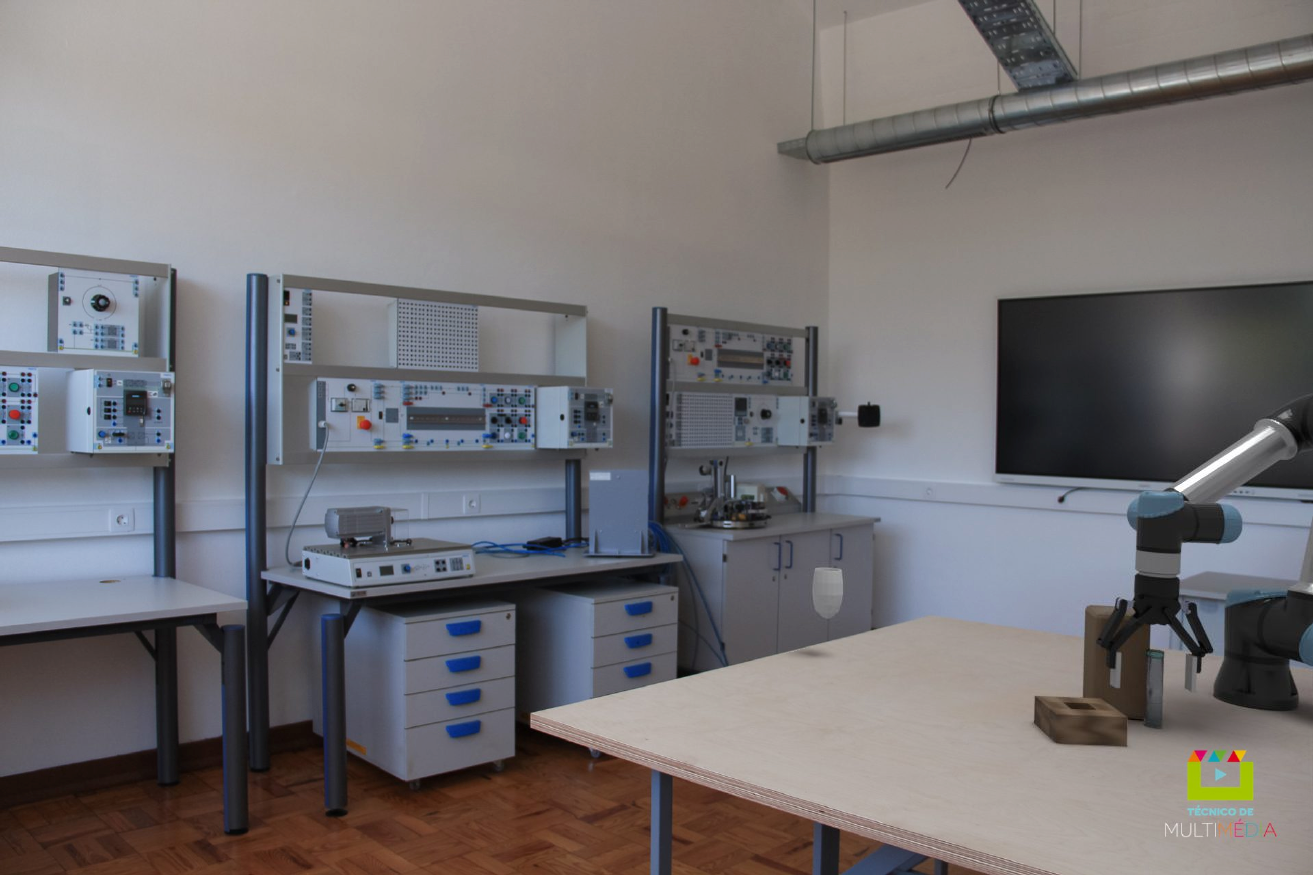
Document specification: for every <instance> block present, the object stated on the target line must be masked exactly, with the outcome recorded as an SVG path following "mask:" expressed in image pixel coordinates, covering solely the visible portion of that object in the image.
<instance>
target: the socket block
mask: <svg viewBox="0 0 1313 875" xmlns="http://www.w3.org/2000/svg"><path fill="white" fill-rule="evenodd" d="M1033 706H1034V707H1033V708H1034V713H1033V723H1034V724H1035V725H1036V726H1037V727H1038V728H1039V729H1040V730H1041V731H1043V732H1044V733H1045V735H1047V736H1048V737H1049V738H1050V739H1051V740H1052V741H1054V742H1055V743H1056V744H1072V745H1073V744H1074V745H1075V744H1076V745H1093V746H1094V745H1097V746H1100V745H1101V746H1119V747H1121V746H1122V747H1126V746H1127V747H1128V721H1129V718H1128V717H1127V716H1125V715H1124V714H1122V713H1121V712H1120V711H1118V710H1117V709H1115V708H1114V707H1112V706H1111V705H1109V704H1108V703H1107V702H1105V701H1104V700H1102V699H1101V698H1083V697H1075V696H1074V697H1073V696H1049V695H1046V696H1045V695H1034V705H1033Z"/></svg>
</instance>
